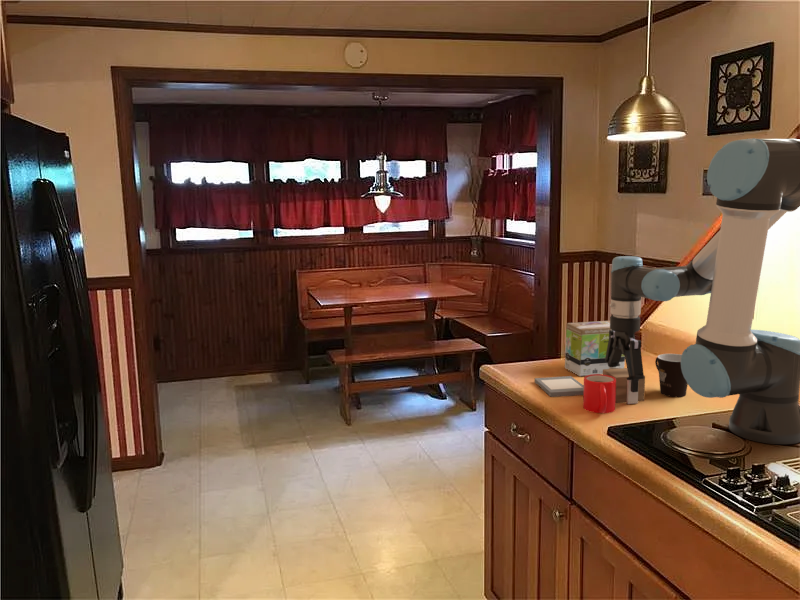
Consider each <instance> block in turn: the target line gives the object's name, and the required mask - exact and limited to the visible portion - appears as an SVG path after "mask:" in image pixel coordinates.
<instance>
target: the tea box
mask: <svg viewBox="0 0 800 600" xmlns="http://www.w3.org/2000/svg"><path fill="white" fill-rule="evenodd" d="M565 330H566V331H565V350H564V351H565V353H564V354H565V355H564V369H566V370H567V369H568V371H569V370H570V371H569V372H571V371H572V372H573V373H572V372H571V373H572V374H574V373H575V375H576V374H577V375H576V376H579V377H583V376H584V377H585V376H587V375H592V374H602V375H603V369H609V366H608V363H606V362H605V357H606V352H607V347H608V341H609V331H610V330H611V329H610V320H600V321H599V320H598V321H595V320H594V321H582V322H581V321H580V322H567V323H566V329H565ZM609 358H610V357H609ZM619 364H620V366H616V367H619V368H625V364H626V360H625V356H624V355H623V354H622V356H621V358H620V361H619Z"/></svg>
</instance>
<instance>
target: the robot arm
mask: <svg viewBox="0 0 800 600" xmlns="http://www.w3.org/2000/svg"><path fill="white" fill-rule="evenodd" d="M706 180H707V181H706V183H707V186H708V187H709V191H710V193H711V195H713V196H714V197H715V198H716V202H715V203H716V204H715V207H716V208H717V209H718V211H720V212H721V214H722V217H721V223H720V224H721V225H720V229H719V231H717V233H715V234H714V236H713V237H712V238H711V239H710V240H709V242H708V243H707V244H705V246H703V248H702V249H701V250H700V251H699V252H698V253H697V254H696V255H695V257H693V259H691V260H690V261H689V263H688V264H686V265H682V266H681V265H679V266H670V267H667V266H666V267H648V266H647V267H646V266H644V265H643V258H641V257H639V256H632V255H625V256H624V255H623V256H621V255H620V256H616V257H613V259H612V261H611V270H610V281H611V282H610V303H609V308H610V314H611V315H610V318H609V321H610V329H611V330H610V331H609V341H608V347H607V352H606V357H605V362H606V363H608V366H609V369H619V367H616V366H620V364H619V361H620V358H621V356H622V354H623V355H624V356H625V364H626V368H627V370H628V374H629V377H628V378H627V402H626V404H628V405H630V404H632V405H633V404H639V402H638V384H639V379H644V376H645V375H644V367H643V366H644V365H643V358H642V340H641V339H636V337H635V334H636V332H639V331H640V329H641V317H640V316H641V311H642V298H645V299H648V300H652V301H655V302H658V301H659V302H668V301H671V300H672V299H673V298H678V297H690V296H705V295H708V294H710V295H709V296H710V297H709V303H708V310H707V316H706V323H705V325H703V326H701V327H700V328H698V330H697V332H696V336H695V337H696V338H695V343H694V344H690V345H689V346H687V347H686V348H685V349H684V350H683V351H682V353H681V355H682V356H681V369H682V373H683V376H684V378H685V380H686V381H687V384H688V385H687V386H689V388H690V389H691V390H692V391H693V392H694V393H696V394H697V395H699V396H700V397H703V398H708V399H710V398H711V399H712V398H713V399H714V398H720V399H721V398H722V399H723V398H726V397H729V396H734V395H735V396H737V395H738V399H737V401H736V403H735V405H734V407H733V410H732V412H731V415H730V416H729V420H728V422H729V423H728V430H729V431H730V432H732V434H734V435H736V436H738V437H740V438H742V439H745V440H749V441H753V442H756V443H757V442H758V443H763V444H770V445H794V444H795V445H796V444H798V443H800V405H799V398H800V338H798V337H796V336H794V335H792V334H787V333H781V332H776V331H770V330H761V329H752V326H753V319H754V314H755V309H756V308H755V307H756V301H757V297H758V291H759V285H760V284H759V283H760V279H761V273H762V272H761V271H762V267H763V261H764V256H765V255H764V254H765V251H766V250H765V248H766V245H767V238H768V232H769V229H771V228H772V227H773V226H774V225H775V224H776V223H777V222H778V221H779V220H780V219H781V218H782V217H783V216H784V215H785V214H786V213H787V212H789V213H790V212H795V211H796V210H798V209H799V208H800V139H797V138H755V137H753V138H752V137H751V138H746V139H745V138H744V139H736V140H732V141H729V142H727V143H726V144H724V145H723V146H722V147H721V148H720V149H719V150H717V152H716V153H715V154H714V155H713V157H712V159H711V160H710V164H709V165H708V168H707V174H706ZM609 357H610V358H609Z"/></svg>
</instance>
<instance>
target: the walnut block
mask: <svg viewBox="0 0 800 600" xmlns="http://www.w3.org/2000/svg"><path fill="white" fill-rule="evenodd" d="M602 375H609V376H612V377H614V378H615V379H616V403H615V404H620V403H621V404H622V403H623V404H624V403H627V378H628V377H629V374H628V370H627V367H624V368H619V369H603V374H602ZM645 384H646V375H644V379H639V384H638V403H639V402H644V401H645V389H646V387H645V386H646V385H645Z"/></svg>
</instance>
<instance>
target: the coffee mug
mask: <svg viewBox="0 0 800 600" xmlns="http://www.w3.org/2000/svg"><path fill="white" fill-rule="evenodd" d="M681 356H682V354H680V353H679V354H678V353H663V354H658V355H657V357H655V361H654V362H655V363H654V364H655V367H656V369H657V371H658V377H659V378H658V379H659V390H660V394H661V395H663V396H665V397H668V398H669V397H670V398H683V397H686V395H687V390H688V386H689V385H688V384H687V381H686V380H685V378H684V376H683V373H682V369H681Z"/></svg>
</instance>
